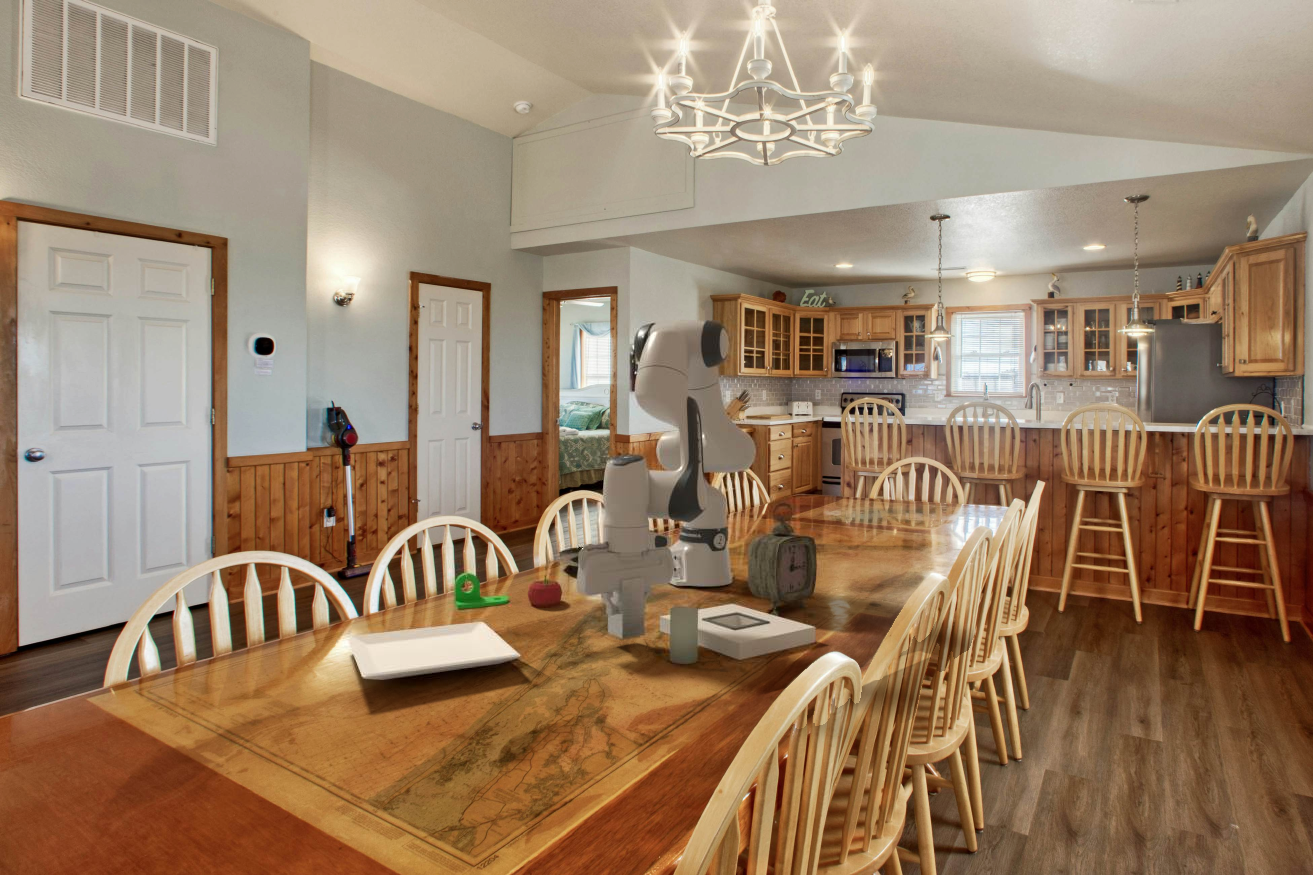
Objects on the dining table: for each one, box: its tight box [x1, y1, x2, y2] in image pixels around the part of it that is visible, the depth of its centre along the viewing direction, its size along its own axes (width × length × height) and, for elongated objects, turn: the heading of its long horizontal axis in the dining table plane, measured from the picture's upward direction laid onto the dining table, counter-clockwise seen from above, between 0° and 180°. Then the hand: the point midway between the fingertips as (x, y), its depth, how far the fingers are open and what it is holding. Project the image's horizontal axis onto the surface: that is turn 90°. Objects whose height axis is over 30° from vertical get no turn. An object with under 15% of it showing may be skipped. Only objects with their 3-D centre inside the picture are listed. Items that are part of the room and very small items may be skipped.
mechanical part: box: [453, 572, 510, 610], centre depth 174 cm, size 12×6×8 cm, turn 112°
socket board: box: [659, 603, 816, 661], centre depth 151 cm, size 24×20×3 cm
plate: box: [346, 621, 522, 680], centre depth 137 cm, size 26×26×2 cm
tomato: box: [527, 574, 563, 608], centre depth 174 cm, size 8×8×8 cm
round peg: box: [669, 606, 699, 665], centre depth 135 cm, size 5×5×9 cm
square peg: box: [607, 577, 645, 640], centre depth 144 cm, size 5×5×11 cm
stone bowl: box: [557, 546, 586, 575], centre depth 205 cm, size 25×25×9 cm
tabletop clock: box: [747, 502, 818, 617], centre depth 171 cm, size 14×9×25 cm, turn 131°
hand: (626, 611), depth 144 cm, fingers closed on square peg, 5 cm apart
